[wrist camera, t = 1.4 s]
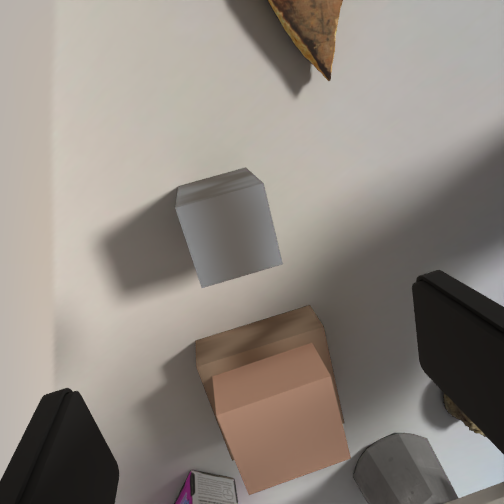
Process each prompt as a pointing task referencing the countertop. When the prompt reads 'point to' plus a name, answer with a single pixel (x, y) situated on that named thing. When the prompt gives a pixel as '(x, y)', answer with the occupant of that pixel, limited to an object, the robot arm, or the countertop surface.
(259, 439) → the tower top
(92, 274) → the countertop surface
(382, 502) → the coffeepot
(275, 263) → the grey block
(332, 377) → the tower base
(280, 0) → the flatbread slice
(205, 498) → the candy bar box
